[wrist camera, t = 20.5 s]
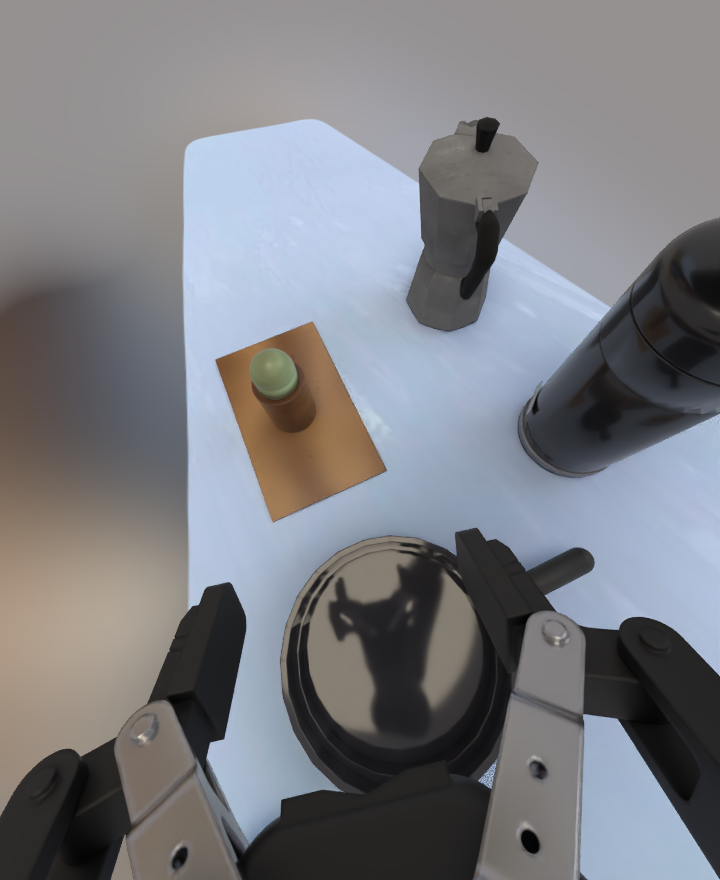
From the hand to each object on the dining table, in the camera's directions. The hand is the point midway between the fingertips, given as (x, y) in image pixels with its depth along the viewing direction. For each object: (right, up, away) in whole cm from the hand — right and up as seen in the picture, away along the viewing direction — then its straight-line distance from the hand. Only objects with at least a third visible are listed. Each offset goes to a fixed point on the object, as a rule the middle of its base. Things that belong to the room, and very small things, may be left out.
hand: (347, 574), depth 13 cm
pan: (+3, -13, +17) cm, 22 cm away
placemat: (-6, +8, +26) cm, 27 cm away
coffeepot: (+11, +20, +30) cm, 38 cm away
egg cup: (-7, +8, +25) cm, 27 cm away
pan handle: (+15, -7, +16) cm, 23 cm away
